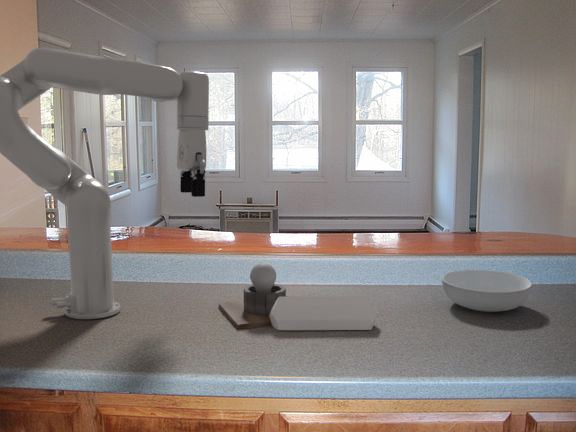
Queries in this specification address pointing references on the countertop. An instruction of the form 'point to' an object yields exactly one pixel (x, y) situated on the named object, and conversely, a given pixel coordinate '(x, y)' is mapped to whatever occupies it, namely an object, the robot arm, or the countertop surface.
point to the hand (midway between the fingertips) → (192, 194)
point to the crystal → (323, 313)
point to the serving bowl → (486, 289)
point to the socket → (253, 307)
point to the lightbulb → (263, 277)
